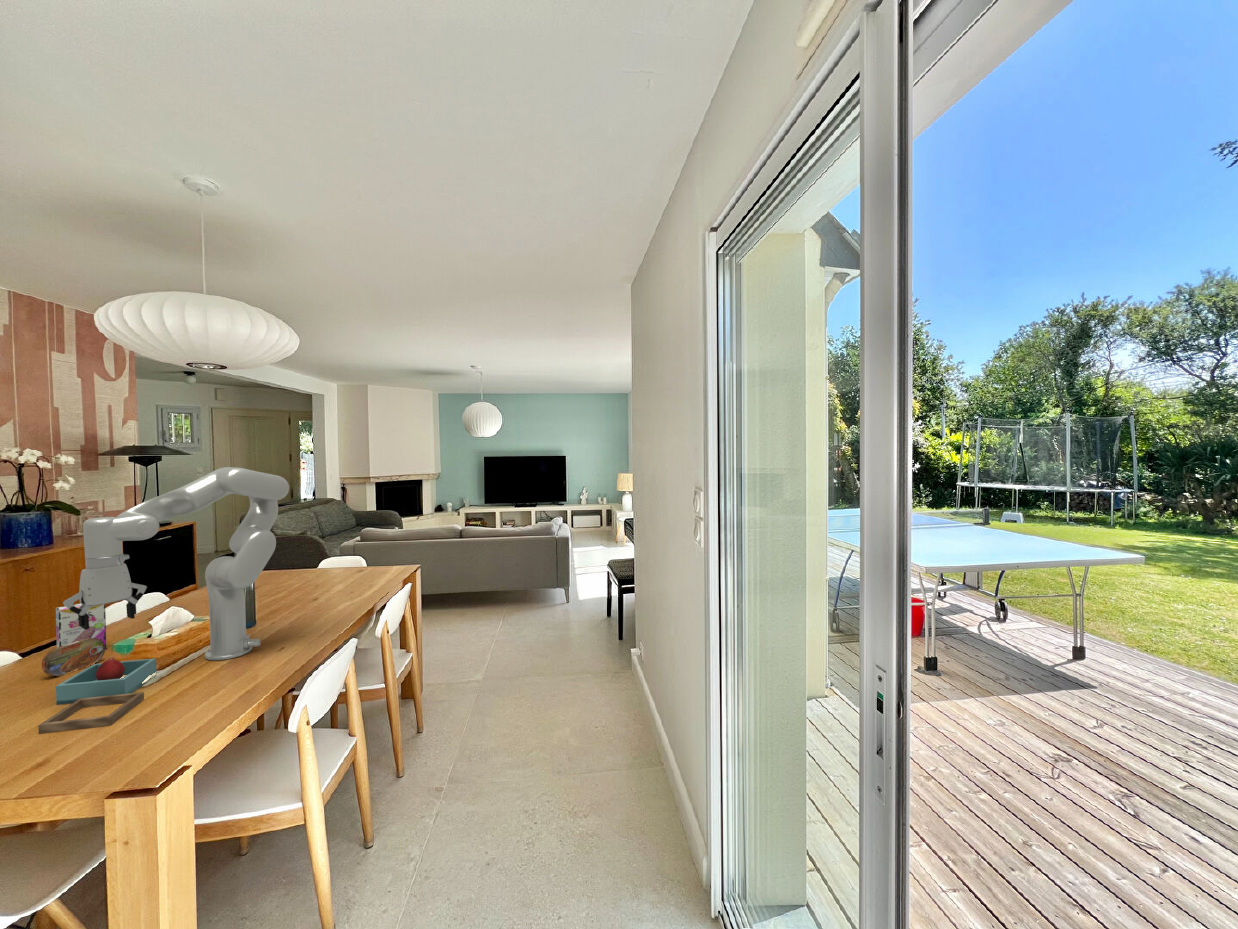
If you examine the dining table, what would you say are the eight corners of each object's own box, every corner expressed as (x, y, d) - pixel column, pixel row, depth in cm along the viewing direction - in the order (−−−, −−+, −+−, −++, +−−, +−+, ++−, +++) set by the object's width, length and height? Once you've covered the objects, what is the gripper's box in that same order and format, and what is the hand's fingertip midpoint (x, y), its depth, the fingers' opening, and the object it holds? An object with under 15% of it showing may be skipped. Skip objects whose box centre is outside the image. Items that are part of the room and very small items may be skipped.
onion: (99, 691, 148) (99, 662, 148) (92, 685, 151) (93, 657, 151) (127, 684, 153) (127, 656, 153) (120, 678, 156) (120, 651, 156)
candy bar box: (60, 662, 172) (57, 610, 171) (56, 658, 174) (54, 607, 174) (107, 651, 181) (105, 601, 180) (103, 647, 184) (101, 599, 183)
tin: (48, 681, 158) (47, 652, 158) (40, 680, 158) (38, 651, 158) (106, 660, 173) (105, 634, 172) (98, 659, 173) (97, 633, 173)
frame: (144, 699, 146) (143, 692, 146) (110, 725, 132) (109, 717, 132) (80, 706, 142) (79, 698, 142) (38, 733, 129) (38, 725, 128)
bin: (156, 675, 161) (156, 658, 161) (125, 697, 147) (124, 679, 146) (95, 681, 157) (94, 664, 157) (56, 705, 143) (55, 686, 143)
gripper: (138, 554, 160) (142, 612, 161) (56, 567, 145) (61, 630, 146) (149, 557, 156) (153, 615, 157) (66, 570, 141) (71, 635, 142)
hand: (108, 623), depth 152 cm, fingers open, 9 cm apart
